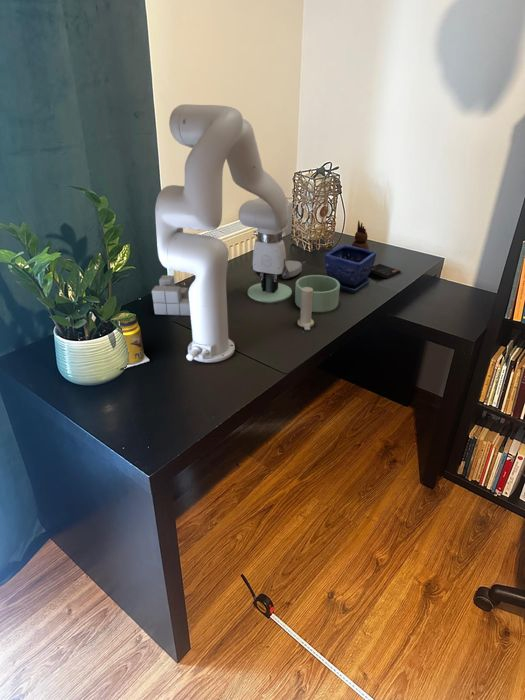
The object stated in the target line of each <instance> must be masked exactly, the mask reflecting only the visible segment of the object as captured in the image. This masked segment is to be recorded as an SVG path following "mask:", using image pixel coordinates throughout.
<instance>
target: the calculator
mask: <svg viewBox="0 0 525 700" xmlns="http://www.w3.org/2000/svg"><path fill="white" fill-rule="evenodd" d="M370 274H374V275H376V276H380V277H382V278H385V279H391V278H393V277H395V276H397V275H399V274H401V270H399V269H396V268H393V267H390V266H388V265H384V264H381V263H378V264H374V265H373V267H372V270H371V271H370Z"/></svg>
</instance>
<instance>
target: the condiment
mask: <svg viewBox="0 0 525 700" xmlns="http://www.w3.org/2000/svg"><path fill="white" fill-rule="evenodd" d="M134 316H135V317H134V318H133V319H130V320H125V321H120V326H121V328H122V332H123V335H124V338H125V341H126V345H127V348H128V352H129V362H128V365H127V367H126V368H125V369H127V368H130V367H134V366H138V365H141V364H144V363H147V362H150V359H149V358H148V357H147V356H146V354H145V353H144V345H143V339H142V333H141V332H142V331H141V326H140V325H139V322H138V317H137V316H136V315H134Z"/></svg>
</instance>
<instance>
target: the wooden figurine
mask: <svg viewBox="0 0 525 700" xmlns="http://www.w3.org/2000/svg"><path fill="white" fill-rule="evenodd" d="M367 240H368V233H367V230H366V228H365V226H364V225H363V222H360V220H358V221H357V229H356V232H355V234H354V241H353V242H352V243H351V246H354V247H358V248H363V249H367V250H370V249H369V248H370V247H369V244H368V243H367ZM357 258H358V259H360V256H358V257H357ZM352 261H354V259H353V258H352Z"/></svg>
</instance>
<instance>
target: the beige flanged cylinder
mask: <svg viewBox="0 0 525 700" xmlns="http://www.w3.org/2000/svg"><path fill="white" fill-rule="evenodd" d="M312 296H313V289H312V288H310V287H303V288H302V289H301V308H300V317H299V319H297V321H296V322H297V323H296V324H297V325H298V326H299V327H302V328H304V331H311V327H313V326H314V325H315V321H314V319H312V315H313V313H312Z"/></svg>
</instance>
